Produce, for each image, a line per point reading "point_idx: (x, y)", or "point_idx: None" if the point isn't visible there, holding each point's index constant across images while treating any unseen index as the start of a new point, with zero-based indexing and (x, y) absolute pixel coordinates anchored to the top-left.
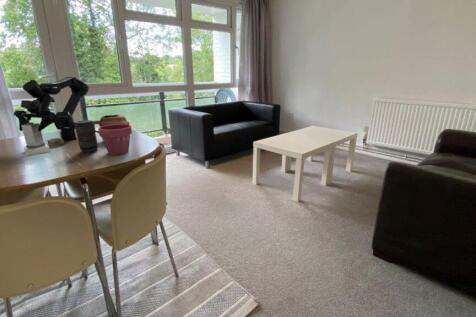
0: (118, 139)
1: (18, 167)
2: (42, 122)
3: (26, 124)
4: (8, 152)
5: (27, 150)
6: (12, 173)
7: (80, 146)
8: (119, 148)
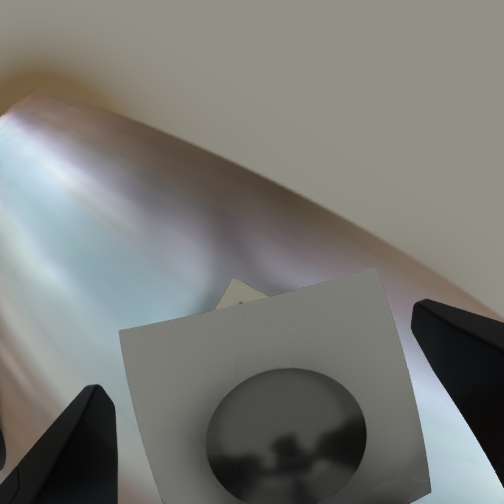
0: None
1: (98, 151)
2: (4, 485)
3: (332, 364)
4: (432, 291)
5: (228, 287)
6: (74, 118)
7: None
8: None
